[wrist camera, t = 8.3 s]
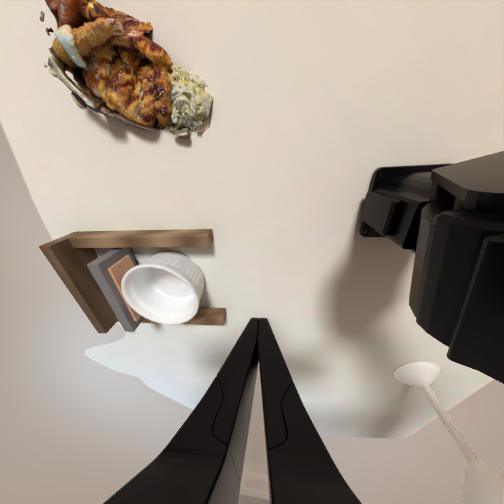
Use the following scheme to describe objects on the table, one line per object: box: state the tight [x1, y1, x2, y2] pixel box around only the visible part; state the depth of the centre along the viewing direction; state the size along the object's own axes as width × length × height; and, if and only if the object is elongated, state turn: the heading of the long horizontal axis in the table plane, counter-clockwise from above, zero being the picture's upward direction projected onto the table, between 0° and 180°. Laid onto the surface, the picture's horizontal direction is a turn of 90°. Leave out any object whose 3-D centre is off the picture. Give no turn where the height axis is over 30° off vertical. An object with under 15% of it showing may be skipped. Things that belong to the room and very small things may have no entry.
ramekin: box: [121, 251, 205, 325], centre depth 22 cm, size 9×9×4 cm
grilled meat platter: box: [40, 0, 213, 138], centre depth 13 cm, size 7×12×4 cm, turn 74°
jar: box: [238, 363, 270, 504], centre depth 25 cm, size 11×10×15 cm
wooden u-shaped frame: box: [39, 229, 226, 333], centre depth 23 cm, size 17×13×4 cm
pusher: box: [87, 247, 145, 332], centre depth 22 cm, size 2×10×4 cm, turn 3°
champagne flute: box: [393, 361, 504, 504], centre depth 19 cm, size 7×7×24 cm
